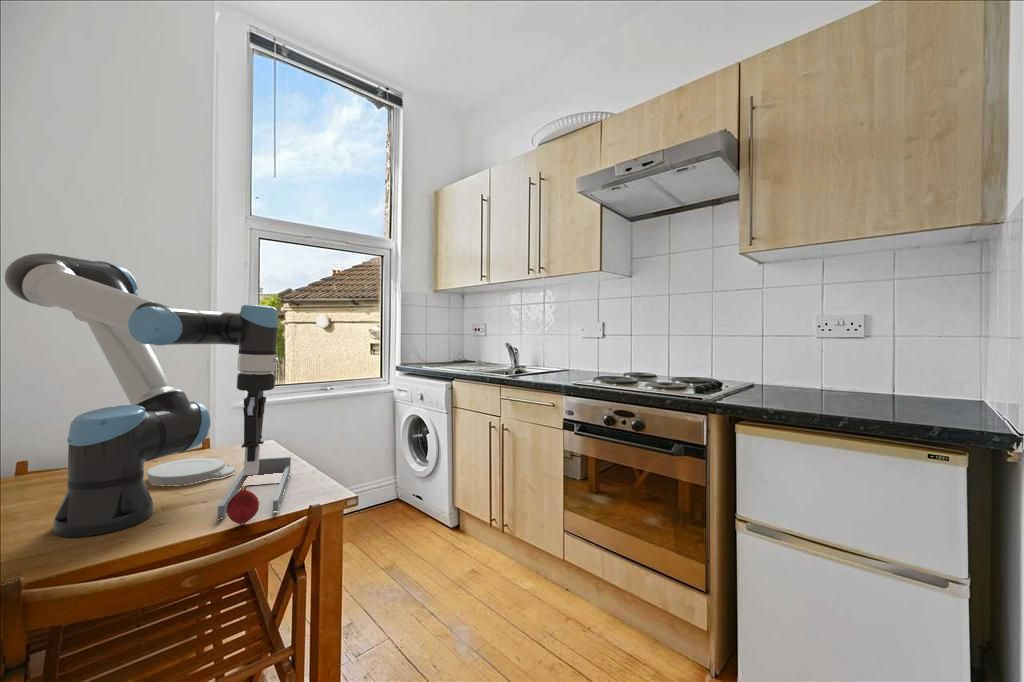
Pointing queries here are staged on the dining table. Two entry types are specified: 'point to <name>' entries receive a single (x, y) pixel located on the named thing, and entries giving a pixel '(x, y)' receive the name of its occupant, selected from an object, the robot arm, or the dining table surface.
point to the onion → (242, 506)
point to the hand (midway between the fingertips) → (251, 473)
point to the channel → (264, 468)
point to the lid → (188, 471)
